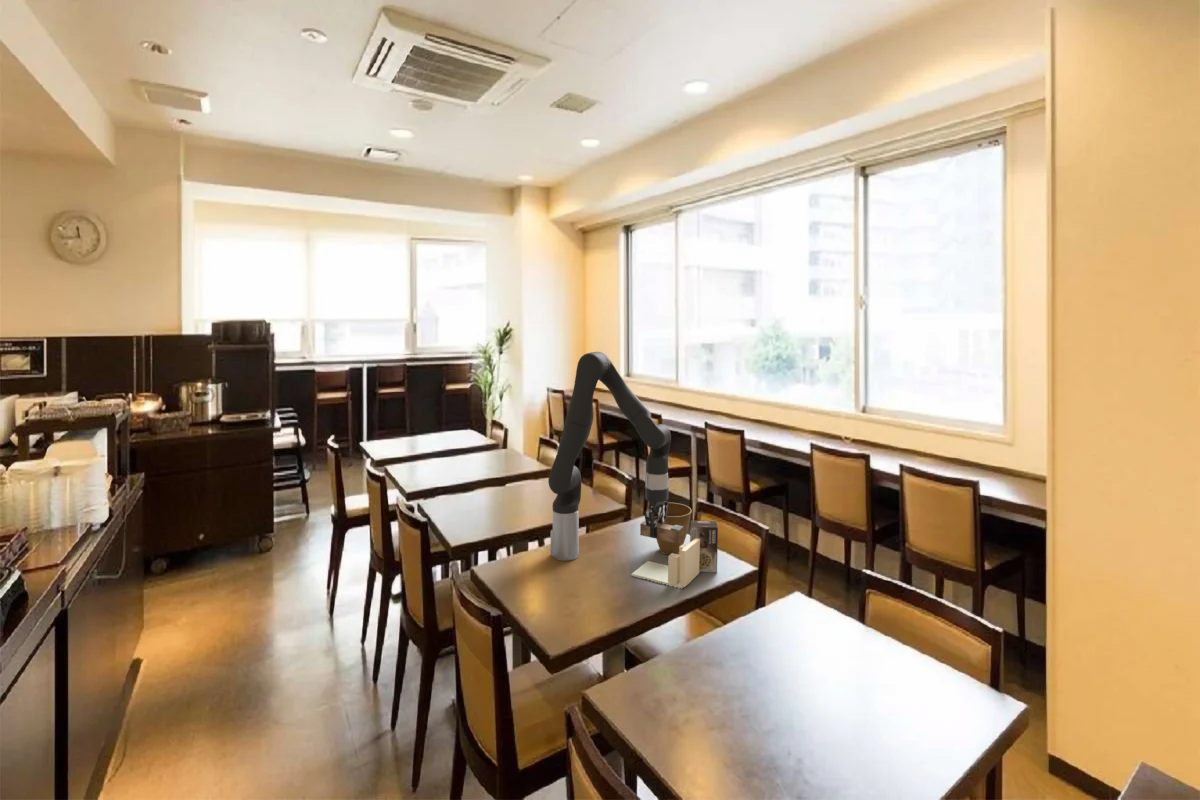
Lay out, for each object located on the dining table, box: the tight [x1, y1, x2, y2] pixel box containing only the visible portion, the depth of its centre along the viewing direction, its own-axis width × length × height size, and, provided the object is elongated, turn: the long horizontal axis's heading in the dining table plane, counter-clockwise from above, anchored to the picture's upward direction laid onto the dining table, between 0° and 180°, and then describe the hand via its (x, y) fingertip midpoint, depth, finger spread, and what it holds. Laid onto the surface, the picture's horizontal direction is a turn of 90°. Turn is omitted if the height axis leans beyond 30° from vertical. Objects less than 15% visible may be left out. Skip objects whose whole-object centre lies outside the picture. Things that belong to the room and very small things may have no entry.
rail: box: [639, 520, 684, 543], centre depth 197 cm, size 14×4×4 cm, turn 59°
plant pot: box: [653, 502, 693, 555], centre depth 218 cm, size 15×15×16 cm
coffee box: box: [689, 519, 719, 573], centre depth 203 cm, size 9×6×16 cm
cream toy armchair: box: [631, 538, 700, 590], centre depth 198 cm, size 19×12×13 cm, turn 59°
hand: (656, 535), depth 199 cm, fingers closed on rail, 4 cm apart
